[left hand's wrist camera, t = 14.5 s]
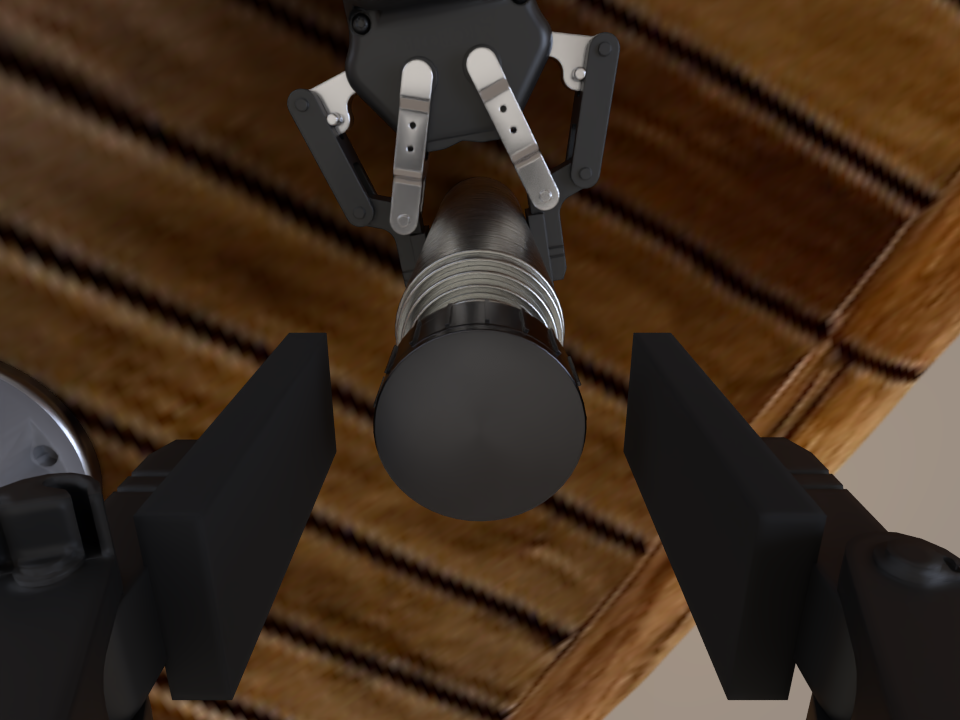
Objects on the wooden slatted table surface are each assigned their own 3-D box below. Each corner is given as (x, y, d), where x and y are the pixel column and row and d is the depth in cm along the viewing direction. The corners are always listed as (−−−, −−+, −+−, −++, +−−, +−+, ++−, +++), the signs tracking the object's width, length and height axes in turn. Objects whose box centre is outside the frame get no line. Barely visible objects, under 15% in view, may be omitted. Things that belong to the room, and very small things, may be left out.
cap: (578, 294, 13) (593, 323, 12) (573, 472, 15) (586, 522, 13) (377, 299, 13) (362, 329, 12) (391, 476, 15) (380, 526, 13)
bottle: (527, 255, 36) (607, 504, 13) (445, 268, 37) (388, 533, 14) (516, 170, 35) (585, 288, 12) (430, 184, 35) (338, 325, 12)
